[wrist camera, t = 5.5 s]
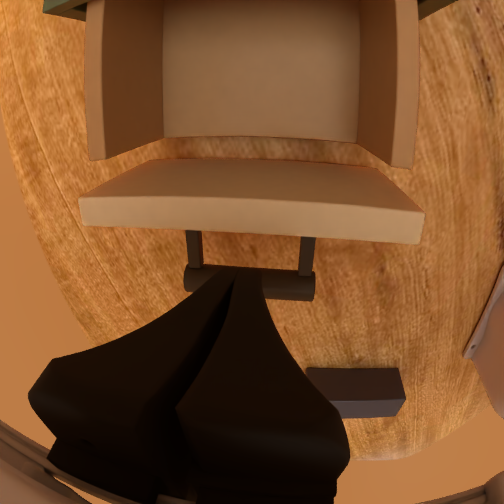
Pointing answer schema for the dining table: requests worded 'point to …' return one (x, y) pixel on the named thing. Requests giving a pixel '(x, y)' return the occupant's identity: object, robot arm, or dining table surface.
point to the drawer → (254, 120)
